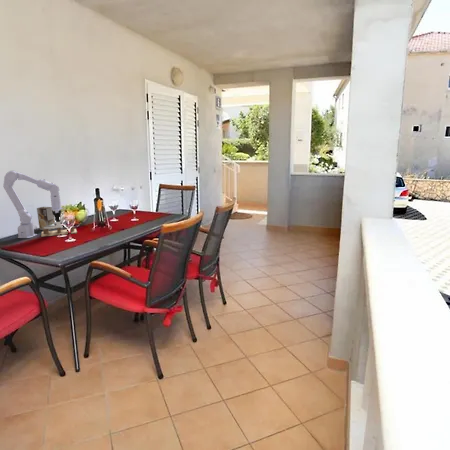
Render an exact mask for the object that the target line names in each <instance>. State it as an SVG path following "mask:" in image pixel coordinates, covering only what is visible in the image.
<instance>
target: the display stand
mask: <svg viewBox="0 0 450 450" xmlns="http://www.w3.org/2000/svg"><path fill="white" fill-rule="evenodd" d="M67 230H68V229H62V227H61V228H56V230H49V229H44V228H43V230H42V231H41V235H40V236H41V237H51V236H61V235H60V234H62V235H69V234H68V231H67ZM77 233H78V231H77V228H75V226H74V225H73V227H72V228H71V234H77Z"/></svg>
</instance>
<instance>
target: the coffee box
mask: <svg viewBox="0 0 450 450" xmlns="http://www.w3.org/2000/svg"><path fill="white" fill-rule="evenodd" d="M52 211H54V210H52V206H41V207H36V213H37V220H38V226H39V227H38V228H39V230H40V231H41V230H42V231H43V228H44V226H48V225H51V224H54V225H56V221H55V217H54V215H53V213H52ZM55 229H56V228H52V229H49V231H53V230H55Z"/></svg>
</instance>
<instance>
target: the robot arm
mask: <svg viewBox="0 0 450 450" xmlns="http://www.w3.org/2000/svg"><path fill="white" fill-rule="evenodd" d="M17 180H18V181H26V182H29V183H32V184H35V185H36V186H37V188H40V189H42V190H45V191H49V192H50V203H51V204H50V205H51V207H52V210H53V211H52V213H53V215H54V221H55V223H56V222H60V223H61V219H60V220H59V217H60V218H61V215H62V210H63V209H64V207H62V203H61V195H60V187H59V186H58V185H57V184H56V183H54V182H50V181H48V180H46V179H44V178H43V179H42V178H41V179H37V178H34V177H33V176H30V175H28V174H25V173H23V172H19V171H16V170H9V171H8V172H7V173H5V175H4V178H3V189H4V190H5V192H6V194H7V196H8V198H9V199H10V201H11V203H12V204H13V206H14V207H15V210H16V211H17V213H18V216H19V221H20V225H19V226H17V234H18V235H17V238H18V239H30V238H33V237H36V236H37V235H38V234H37V233H35V230H34V229H35V228H34V223H33V220H32V217H33V216H32V214H31V213H30V212H28V210H27V209H26V208H25V205H24V204H23V203H22V201H21V199H20V197H19V195H18V193H17V192H16V189H15V188H14V185H15V182H16V181H17Z"/></svg>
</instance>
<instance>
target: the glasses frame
mask: <svg viewBox="0 0 450 450" xmlns="http://www.w3.org/2000/svg"><path fill="white" fill-rule="evenodd" d="M52 228H55V229H57V228H61V229H62V228H64V227H63V226H62V224H61V221H60V222H56V221H55V225H54V224H51V225H48V226H44V229H52ZM52 230H53V229H52Z"/></svg>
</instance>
